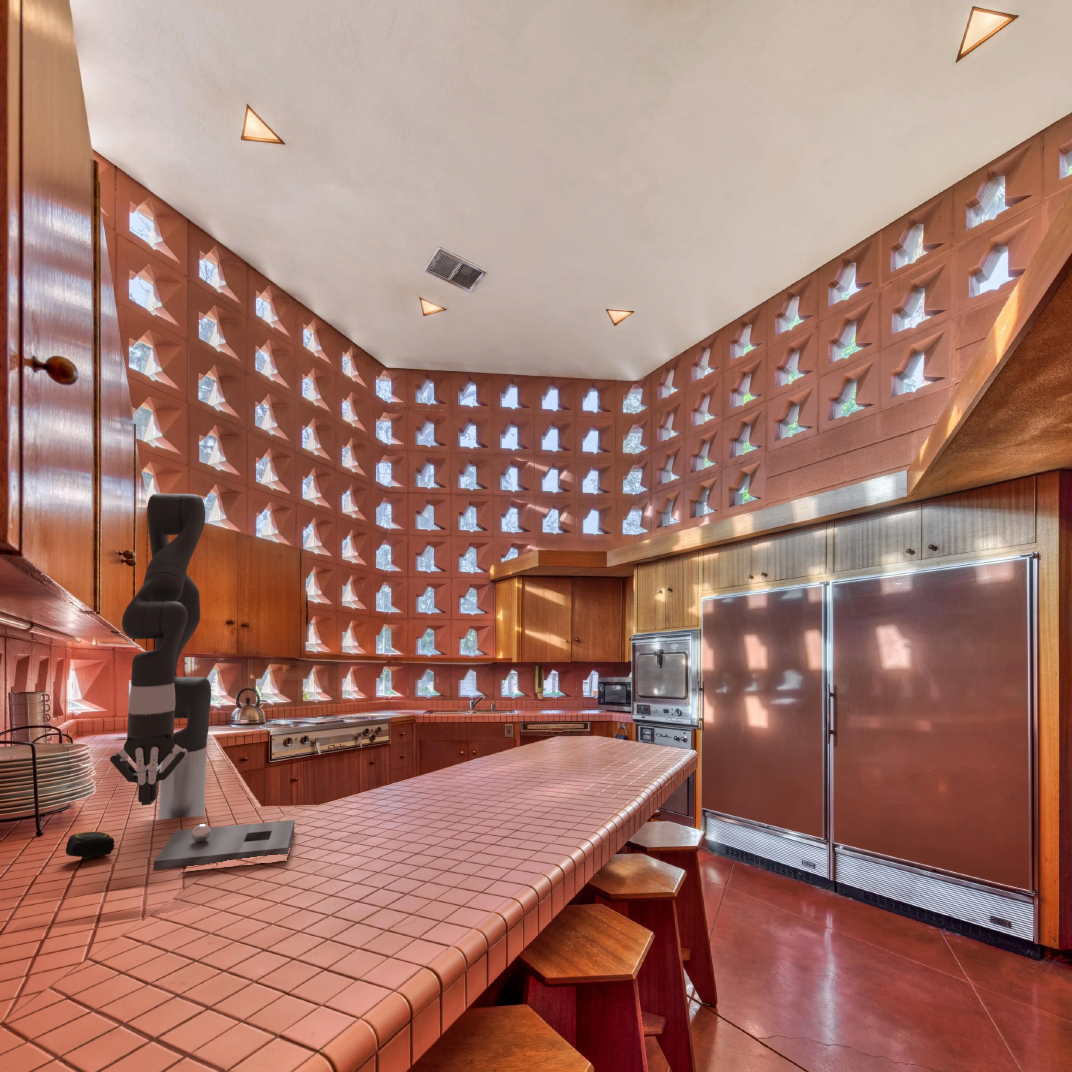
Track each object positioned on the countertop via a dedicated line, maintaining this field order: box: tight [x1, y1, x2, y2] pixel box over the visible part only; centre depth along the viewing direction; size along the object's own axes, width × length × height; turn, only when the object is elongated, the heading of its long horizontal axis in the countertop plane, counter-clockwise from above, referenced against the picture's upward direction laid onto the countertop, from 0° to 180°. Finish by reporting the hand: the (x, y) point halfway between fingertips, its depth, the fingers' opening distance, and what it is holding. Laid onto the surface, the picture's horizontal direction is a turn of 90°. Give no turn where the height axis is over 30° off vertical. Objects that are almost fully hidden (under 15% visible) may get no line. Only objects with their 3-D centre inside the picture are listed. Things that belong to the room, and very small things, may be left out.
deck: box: [153, 819, 295, 871], centre depth 124 cm, size 22×14×2 cm, turn 105°
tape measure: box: [65, 831, 116, 860], centre depth 121 cm, size 7×7×4 cm
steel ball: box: [192, 823, 211, 842], centre depth 123 cm, size 3×3×3 cm
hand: (147, 803), depth 120 cm, fingers closed
